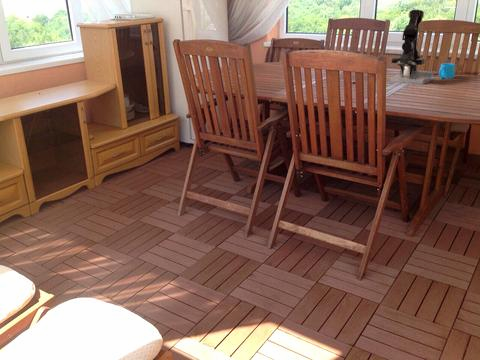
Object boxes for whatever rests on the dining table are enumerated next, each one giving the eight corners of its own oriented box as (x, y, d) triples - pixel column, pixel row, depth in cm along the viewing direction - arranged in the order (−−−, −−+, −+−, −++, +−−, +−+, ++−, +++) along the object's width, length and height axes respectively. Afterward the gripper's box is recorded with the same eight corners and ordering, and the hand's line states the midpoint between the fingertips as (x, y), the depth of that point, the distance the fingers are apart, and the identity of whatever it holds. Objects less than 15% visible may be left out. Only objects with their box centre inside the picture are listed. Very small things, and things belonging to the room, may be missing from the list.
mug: (445, 75, 317) (446, 62, 314) (456, 77, 311) (458, 64, 308) (433, 78, 311) (434, 65, 308) (444, 80, 305) (446, 66, 301)
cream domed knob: (404, 76, 311) (405, 65, 308) (410, 77, 309) (411, 65, 306) (402, 77, 308) (403, 66, 305) (408, 78, 306) (409, 66, 303)
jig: (400, 77, 319) (400, 70, 317) (431, 79, 307) (432, 72, 305) (390, 81, 307) (390, 74, 306) (422, 84, 296) (423, 76, 294)
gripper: (388, 50, 302) (387, 76, 308) (419, 51, 291) (417, 78, 297) (396, 47, 310) (394, 73, 316) (426, 49, 299) (423, 75, 305)
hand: (406, 75), depth 308 cm, fingers closed on cream domed knob, 4 cm apart
